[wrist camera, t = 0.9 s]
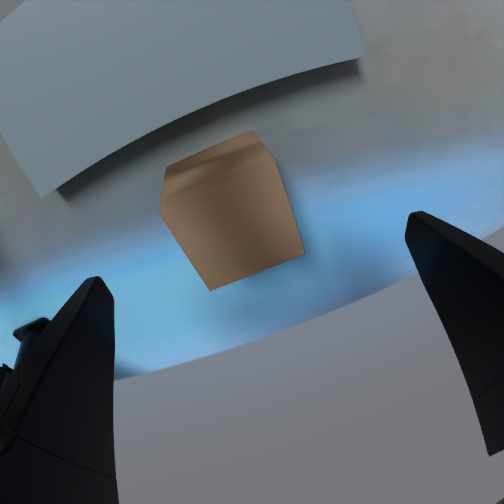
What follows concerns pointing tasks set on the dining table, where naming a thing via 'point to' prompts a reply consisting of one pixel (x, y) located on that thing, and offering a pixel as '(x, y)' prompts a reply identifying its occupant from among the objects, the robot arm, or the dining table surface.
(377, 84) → the dining table surface
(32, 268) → the dining table surface
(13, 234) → the dining table surface
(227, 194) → the walnut cube
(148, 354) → the dining table surface
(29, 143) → the slate board
